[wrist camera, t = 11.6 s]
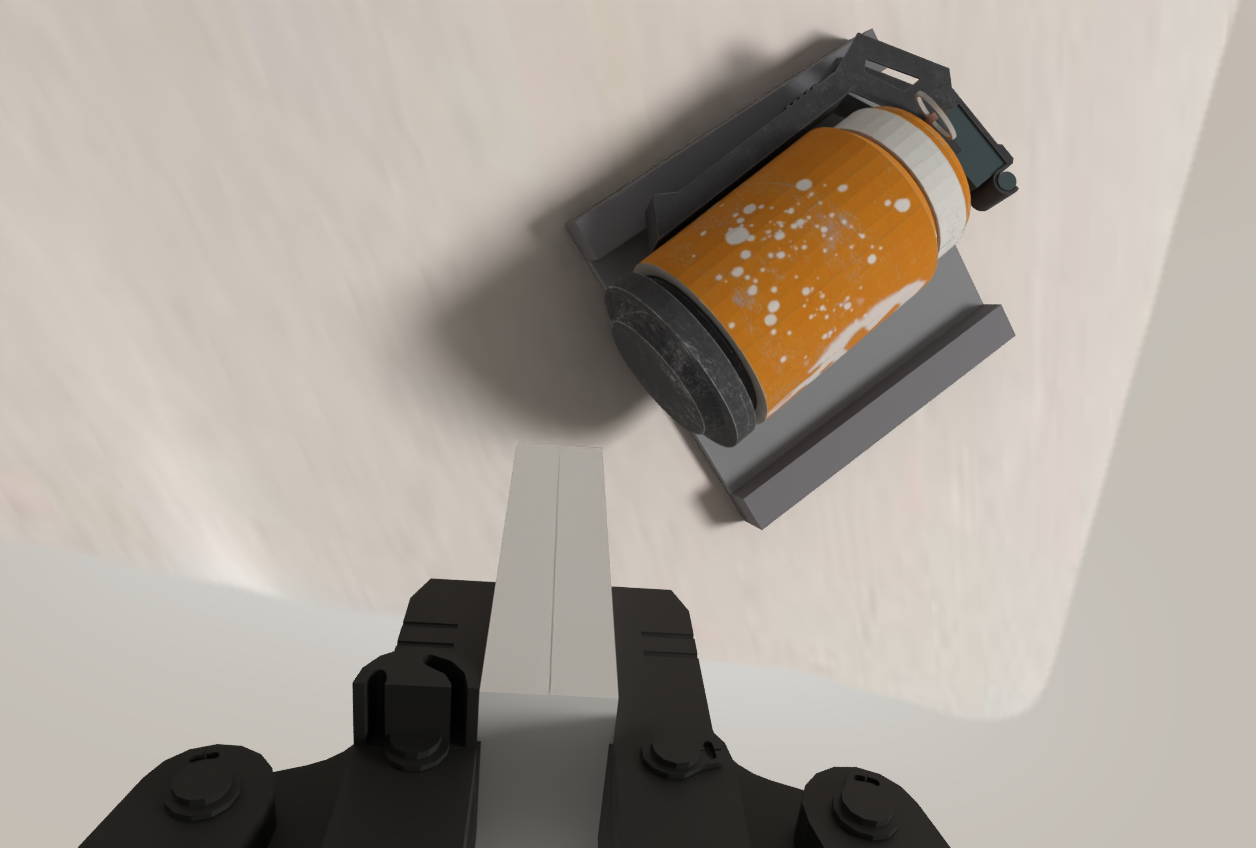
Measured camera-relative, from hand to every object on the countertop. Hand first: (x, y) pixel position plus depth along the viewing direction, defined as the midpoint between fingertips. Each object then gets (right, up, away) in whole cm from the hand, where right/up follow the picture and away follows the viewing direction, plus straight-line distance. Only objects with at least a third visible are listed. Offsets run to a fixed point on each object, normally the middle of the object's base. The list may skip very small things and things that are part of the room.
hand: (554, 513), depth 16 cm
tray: (+10, +9, +31) cm, 33 cm away
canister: (+2, +4, +23) cm, 24 cm away
